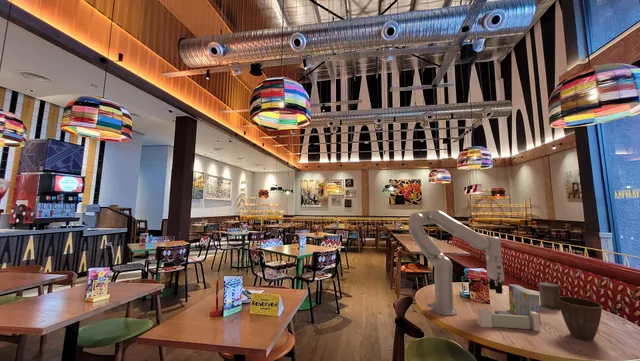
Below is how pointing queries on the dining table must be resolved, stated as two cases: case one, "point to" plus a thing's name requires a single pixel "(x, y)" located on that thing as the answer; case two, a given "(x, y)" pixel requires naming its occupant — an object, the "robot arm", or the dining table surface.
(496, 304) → the dining table surface
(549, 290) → the pillar candle
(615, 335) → the dining table surface
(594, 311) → the plant pot
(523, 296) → the snack box
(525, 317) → the door
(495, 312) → the block
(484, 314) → the pair of cream posts
